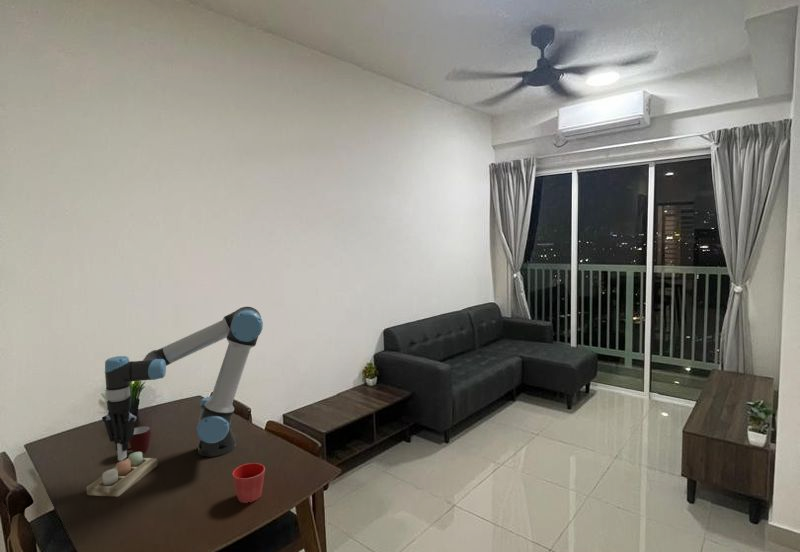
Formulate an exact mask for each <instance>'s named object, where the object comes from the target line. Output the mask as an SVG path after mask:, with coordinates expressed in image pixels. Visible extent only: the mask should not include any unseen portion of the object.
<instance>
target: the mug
mask: <svg viewBox="0 0 800 552" xmlns="http://www.w3.org/2000/svg"><path fill="white" fill-rule="evenodd" d="M151 434H152V433H151V427H150V426H145V425H144V426H138V427H135V428H134V434H133V439H131V440H130V441H128V443H129V445H130V448H129V447H128V449H127V452H128V451H132V453H134V452H142V455H144V454H146V453H147V452H148V449H149V447H150V444H151V443H150V441H151Z"/></svg>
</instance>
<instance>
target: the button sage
mask: <svg viewBox="0 0 800 552" xmlns="http://www.w3.org/2000/svg"><path fill="white" fill-rule="evenodd" d="M128 458H129V460H130V462H131V466H135V467H136V465H139V464H141V463H142V462H143V458H144V456H143V454H142V452H132V453H129V455H128Z"/></svg>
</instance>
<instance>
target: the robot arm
mask: <svg viewBox="0 0 800 552" xmlns="http://www.w3.org/2000/svg"><path fill="white" fill-rule="evenodd" d="M263 323H264V322H263V319H262V316H261V313H260V312H259V311H258V310H257V309H256V308H255V307H252V306H243V307H240V308H238V309H236V310H235V311H233V312H231V313H228V314H227V315H225V316H223V318H222V320H219V321H217V322H216V323H213V324H211V325H208V326H207V327H204V328H202V329H200V330H198V331H195V332H193V333H191V334H189V335H187V336H185V337H183V338H181V339H179V340H178V339H177V340H176V341H174V342H171V343H169V344H167V345H165V346H162V347H160V348H158V349H153V350H152V351H150V352H148V353H147V354H146V355H145V356H144V357H143V359H142V360H135V361H130V358H129V357H128V356H125V355H124V356H123V355H117V356H112V357H109V358H108V359H106V360H105V361H104V374H105V375H104V378H105V392H106V393H105V395H106V400H107V401H106V408H107V409H106V410H107V414H106V415H104V416H102V417H101V419H102V421H103V422H104V425H105V429H106V432H107V436H108V439H109V441H110V442H114V444H115V451H116V452H117V461H119V462H120V461H123V460H126V459H127V457H128V454H127V453H128V451H127V449H128V448H129V441H130V440H131V439H133V434H134V428H136V422H137V420H138V418H139V416H138V415H137V414H136V415H134V414H132V410H131V407H132V397H131V382H132V383H133V382H139V381H140V382H141V381H142V382H143V381H152V380H155V381H156V380H158V379H163V378H165V377H166V373H167V372H166V371H167V366H169V365H170V364H173V363H175V362H177V361H180V360H181V359H184V358H185V357H188V356H190V355H193V354H194V353H197V352H198V351H201V350H203V349H205V348H208V347H210V346H212V345H214V344H216V343H218V342H220V341H223V340H224V339H226V341H227V343H228V345H227V347H226V351H225V353H224V357H223V360H222V363H221V367H220V369H219V372H218V375H217V378H216V380H215V384H214V388H213V390H212V393H211V395H210V396H206V397H203V398H202V399H201V400H200V402H199V403H200V404H199V407H200V413H199V414H200V415H199V418H198V422H197V423H198V424H197V425H196V434H197V437H198V438H199V442H198V443H199V444H198V447H197V450H198V455H200V456H202V457H206V458H207V457H219V456H222V455H223V456H224V455H226V454H228V453H230V452H231V451H233V450H234V449H235V448H236V446H237V440H236V438H235V434H234V433H233V430H232V418H233V415H234V411H235V407H234V405H233V402H234V399H235V397H236V393H237V389H238V387H239V385H240V381H241V378H242V375H243V372H244V370H245V365H246V364H247V363H246V362H247V359H248V357H249V353H250V351H251V349H252V348H254V347H256V346H257V342H258V339H259V336H260V335H261V333H262V330H263V327H264V324H263Z"/></svg>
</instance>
